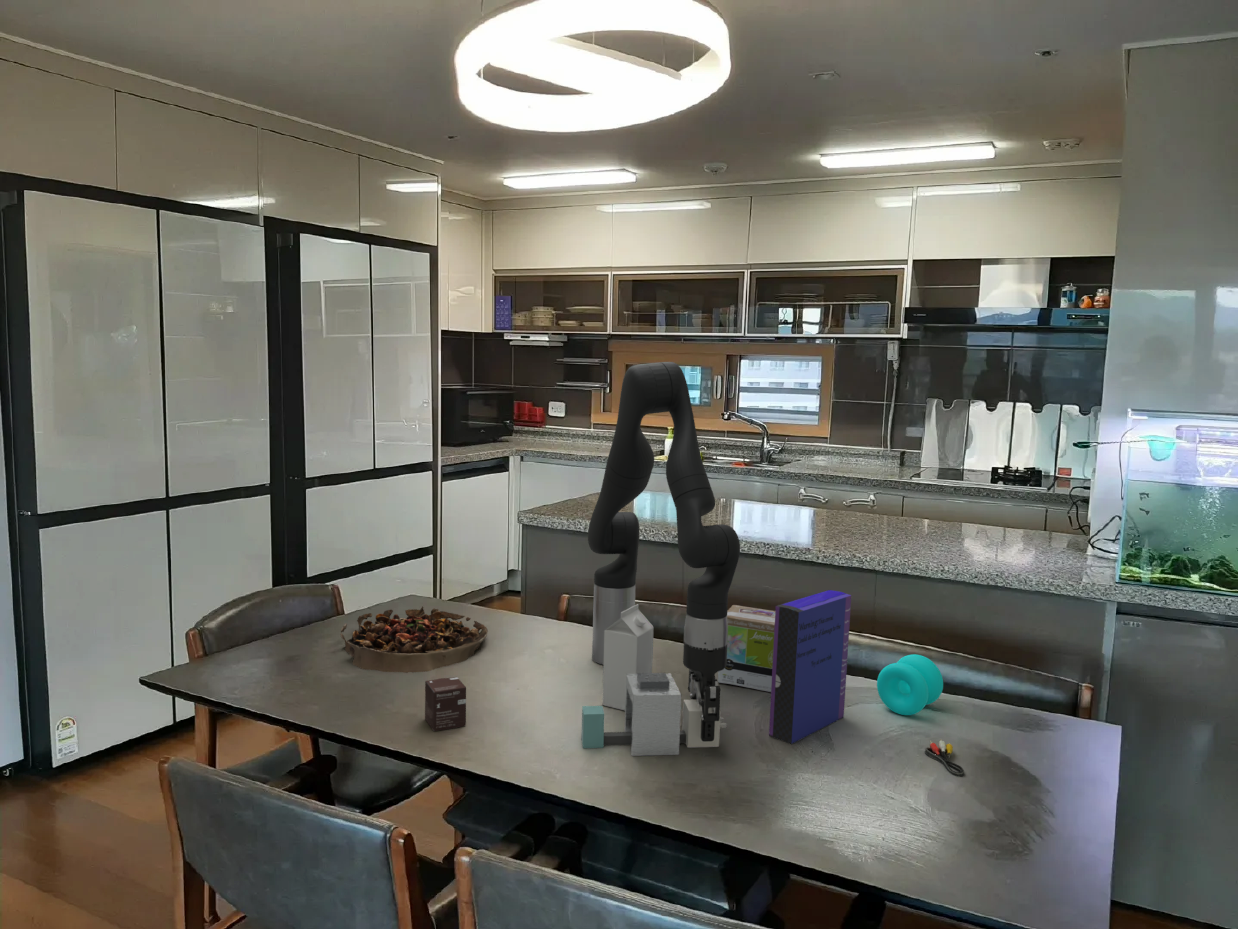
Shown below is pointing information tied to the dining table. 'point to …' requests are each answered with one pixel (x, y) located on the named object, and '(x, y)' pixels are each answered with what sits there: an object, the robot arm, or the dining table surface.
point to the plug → (597, 737)
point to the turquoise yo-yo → (909, 684)
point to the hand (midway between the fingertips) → (701, 730)
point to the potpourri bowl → (412, 641)
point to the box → (445, 703)
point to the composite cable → (944, 756)
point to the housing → (653, 713)
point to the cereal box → (809, 665)
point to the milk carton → (625, 654)
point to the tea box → (749, 648)
